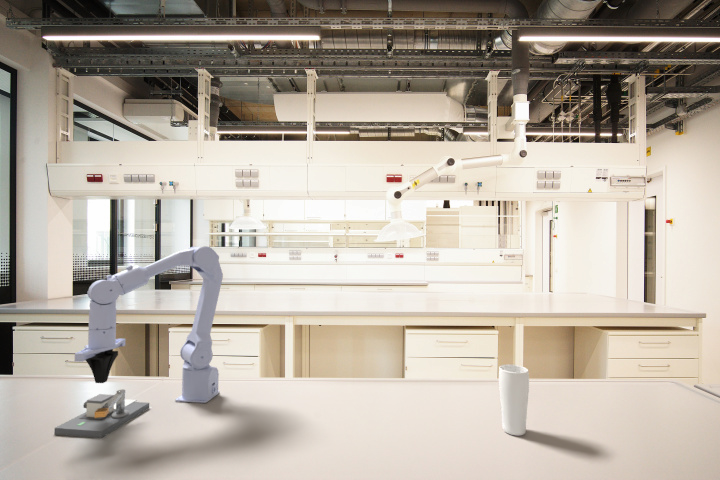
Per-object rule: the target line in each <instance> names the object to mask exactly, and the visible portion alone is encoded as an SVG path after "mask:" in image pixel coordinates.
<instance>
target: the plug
mask: <svg viewBox="0 0 720 480" xmlns="http://www.w3.org/2000/svg"><path fill="white" fill-rule="evenodd" d="M114 395H115V394H105V393H104V394H101V393H99V394H97V395H95V396H92V397H90V398H88V399H87V400H86V401H85V402H84V403H83V407H82V408H84V409H86V411H85V412H86V417H95V411H96V410H97V409H99V408H102V407H103V406H104V405H105V404H106V403H107V402H108V401H109V400H110V399H111V398H112V397H113V396H114ZM112 411H114V405H113V407H112V408H111V409H110V410H109V413H110V412H112ZM109 413H108V414H109ZM99 418H101V417H99Z"/></svg>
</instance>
